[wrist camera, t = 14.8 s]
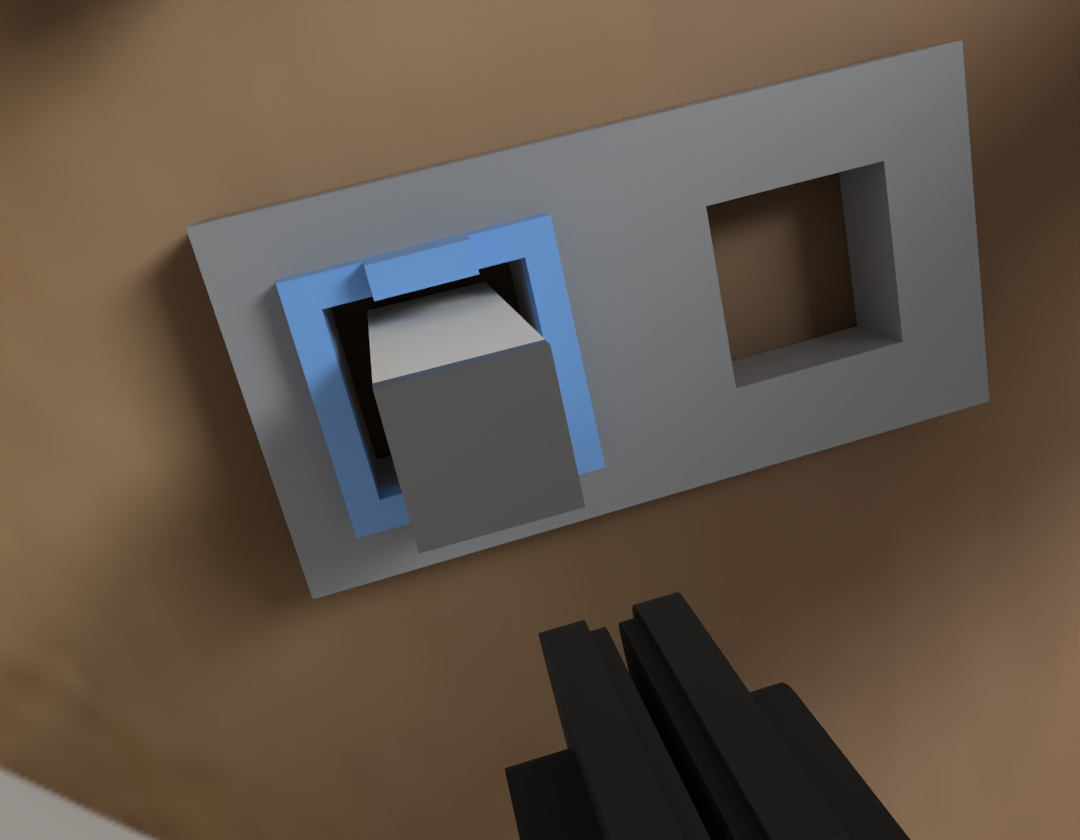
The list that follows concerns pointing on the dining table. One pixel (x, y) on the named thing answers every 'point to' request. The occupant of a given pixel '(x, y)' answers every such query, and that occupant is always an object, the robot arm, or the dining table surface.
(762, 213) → the dining table surface
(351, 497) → the gray peg hole board
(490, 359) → the grey square peg
